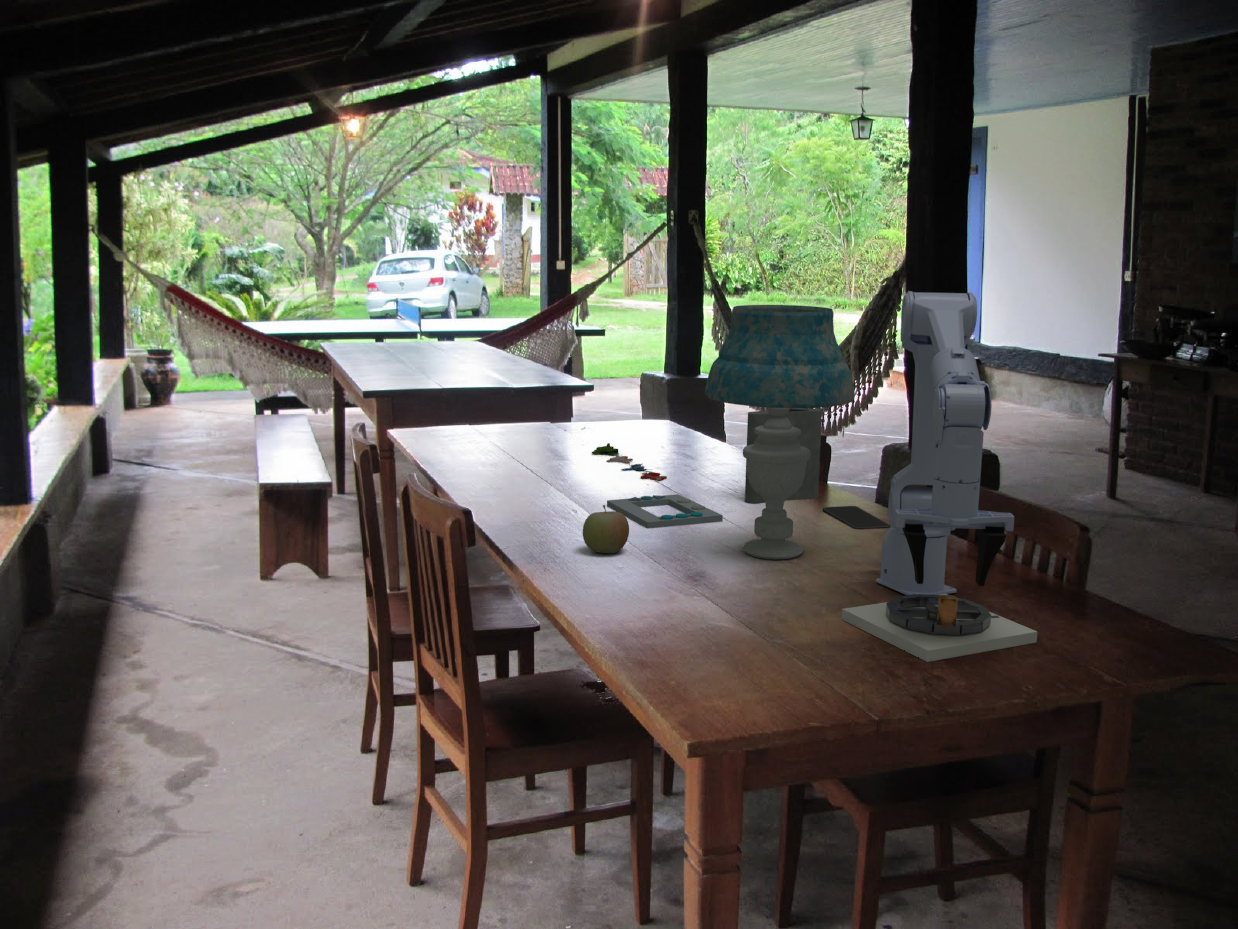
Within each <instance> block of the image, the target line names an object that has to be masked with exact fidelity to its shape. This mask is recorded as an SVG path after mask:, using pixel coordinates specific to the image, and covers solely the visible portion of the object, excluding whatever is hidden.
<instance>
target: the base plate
mask: <svg viewBox="0 0 1238 929" xmlns="http://www.w3.org/2000/svg"><path fill="white" fill-rule="evenodd" d="M939 595H949V594H939ZM888 602H889V601H886V602H881V603H873V604H866V605H859V606H853V607H845V608H841V620H842V621H844V622H846V623H848V624H851V625H852V626H854V627H856V628H858V629H860V630H863V631H864V632H866V633H868V634H870V635H871V636H872V635H873V636H874V637H876V638H878V639H881V640H882V641H885V642H886V643H888V644H890V645H892V646H895V647H897V649H899V650H900V649H901V650H902V651H904V650H905V652H906V653H908V654H911V655H912V656H915V657H917V658H918V657H919V658H918V659H921V660H922V661H925V662H926V663H929V662H935V661H940V660H946V659H953V658H958V657H963V656H968V655H976V654H980V653H986V652H992V651H996V650H1002V649H1008V648H1013V647H1019V646H1025V645H1026V646H1027V645H1030V644H1035V643H1037V642H1038V641H1037V640H1038V631H1037V630H1035V629H1032V628H1030V627H1027V626H1025V625H1023V624H1019V623H1017V622H1015V621H1013V620H1010V619H1008V618H1005V617H1003V616H1001V615H998V614H996V613H993V612H991V611H989V613H990V614H991V623H990V625H989V626H988V627H986V628H985V629H984V630H983V631H979V632H973V633H968V634H962V635H961V634H960V635H957V634H934V633H927V632H923V631H918V630H913V629H908V628H905V627H903V626H901V625H899V624H896V623H894V622H892V621H890V620H889V618H888V616H887V614H886V604H887V603H888ZM904 608H927V605H917V606H910V607H904ZM957 610H960V609H957ZM913 618H917V617H913ZM918 619H923V620H928V621H933V620H929V619H927V618H918ZM964 621H970V619H956V623H958V622H964ZM933 622H936V621H933Z"/></svg>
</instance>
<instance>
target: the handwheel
mask: <svg viewBox="0 0 1238 929" xmlns="http://www.w3.org/2000/svg"><path fill="white" fill-rule="evenodd" d="M887 602H888V603H887V604H886V614H887V616H888V618H889V620H890V621H892V622H894V623H896V624H899V625H901V626H903V627H905V628H908V629H913V630H918V631H923V632H927V633H934V634H957V635H960V634H961V635H962V634H968V633H973V632H979V631H983V630H984V629H985V628H986V627H988V626H989V625H990V623H991V614H990V613H989V612H990V611H989V610H988V607H986V606H984V605H982V604H979V603H977V602H974V601H972V600H969V599H965V598H961V597H957V596H956V595H951V594H948V595H930V594H918V595H917V594H913V595H901V596H896V597H894V598H892V599H891V600H889V601H887ZM917 605H927V608H904V607H910V606H917ZM957 609H960V610H957ZM913 617H917V618H913ZM918 618H927V619H929V620H933V621H936V622H933V621H928V620H923V619H918ZM956 619H970V621H964V622H958V623H956Z"/></svg>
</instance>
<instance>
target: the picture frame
mask: <svg viewBox="0 0 1238 929" xmlns="http://www.w3.org/2000/svg"><path fill="white" fill-rule="evenodd" d="M663 506H669V507H671V508H673V509H675V510H678V511H679V512H681V513H676V514H673V515H672V514H662V515H661V516H657V515H655V514H653V513H651V512H650V511H647V510H646V509H644V508H652V507H663ZM606 507H607V508H609V509H611V510H613V511H615V512H619V513H622V514H623V515H624V516H625V517H626V518H627V519H629V520H630V521H632V522H634V523H636V524H638V525H640V526H642V527H643V528H645V529H649V530H651V529H658V528H669V527H679V526H691V525H692V526H693V525H700V524H701V525H702V524H711V523H722V522H723V521H724V520H723V518H724V516H723V514H721V513H719V512H717V511H715V510H713V509H710V508H708V507H707V506H705V505H702V504H700V503H697V502H695V501H693V500H691V499H689V498H687V497H685V496H682V495H680V494H679V493H677V494H666V495H659V494H658V495H657V494H655V495H654V494H653V495H652V496H651V495H643V496H640V497H637V496H633V497H631V498H621V499H620V498H619V499H609V500H608V499H607V500H606Z"/></svg>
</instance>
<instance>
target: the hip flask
mask: <svg viewBox="0 0 1238 929" xmlns="http://www.w3.org/2000/svg"><path fill="white" fill-rule="evenodd" d="M769 416H770V414H769V411H768V409H767V410H766V409H765V410H756V411H755V410H754V411H748V412H747V426H746V428H747V430H746V431H747V432H746V435H747V436H746V446H748V445H752V444H754V441H755V440H756V439H757V437H758V435H757V434H755V432H754V430H755V428H756V427H758V426H763V425H764V423H765V422H766V420H767V419H768V417H769ZM786 416H787V417H788V419H789V421H790V423H791V425H792V427H796V428H799V429H800V430H801V434H800V435H799V436H797V439H798V441H799V442H800V446H803V447H805V448H808V449H809V450H810V451H811V457H810V459H809V460H808V461H807V464H806V470H805V476H804V480H803V482H802V485H801V486H800V488H799V489H798V490H797V492H796V493H794V494H793V495H792V496H790V497H789V498H787V500H786V501H794V500H795V501H796V500H816V499H818V498H819V482H820V481H819V479H820V463H821V462H820V461H821V459H820V458H821V439H822V420H823V418H822V416H823V410H822V409H819V408H790V409H789V412H788V414H787V415H786ZM744 483H745V484H744V485H745V487H744V503H746V504H749V505H751V504H752V505H757V504H759V505H760V504H765V500H763V498H762V497H761V496H760V495H759V494H758V493H756V492H755V490H754V489H753V488H752V486H751V484H750V482H749V479H748V476H747V465H746V464H745V482H744Z"/></svg>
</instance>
